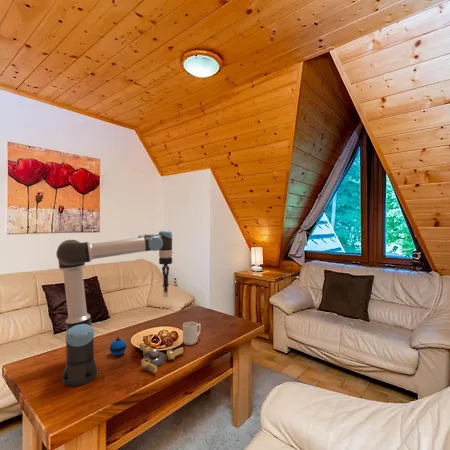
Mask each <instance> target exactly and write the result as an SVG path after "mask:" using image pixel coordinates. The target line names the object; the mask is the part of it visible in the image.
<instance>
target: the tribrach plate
mask: <svg viewBox="0 0 450 450" xmlns="http://www.w3.org/2000/svg"><path fill="white" fill-rule="evenodd" d="M145 358H148V359H150V363H151V364H154V365H156V366H157V367H160V366H163V365H164V364H165V363H166V360H167V354H166V353H164V352H163V351H162V352H161V351H160V349H157V348H151V351H150V353H148V354H146V355H145V356H144V355H143V358H142V359H145Z"/></svg>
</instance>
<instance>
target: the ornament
mask: <svg viewBox="0 0 450 450" xmlns="http://www.w3.org/2000/svg"><path fill="white" fill-rule="evenodd" d="M110 343H111V344H110V346H109V351H110V353H111V354H112V355H114V356H120V355H122V354H124V352H125V351H126V349H127V343H126V341H125V340H124V339H122V338H119V336H117V338H116V339H114V340H113V341H112V342H110Z"/></svg>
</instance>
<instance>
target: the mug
mask: <svg viewBox="0 0 450 450" xmlns="http://www.w3.org/2000/svg"><path fill="white" fill-rule="evenodd" d="M201 326H202V325H201V323H197V322H196V321H186V322H184V323H183V324H182V342H183V341H184V342H183V343H184V345H187V346H192V345H196V343H197V342H198V337H199V335H200V334H201V330H202V329H201Z"/></svg>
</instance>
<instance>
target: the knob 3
mask: <svg viewBox="0 0 450 450" xmlns="http://www.w3.org/2000/svg"><path fill="white" fill-rule="evenodd" d="M183 353H184V347H183V346H181V347H178V348H176V349H174V348H173V349H168V350H166V360H168V361H171V360H175V359H176V356H179V355H180V354H183Z"/></svg>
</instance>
